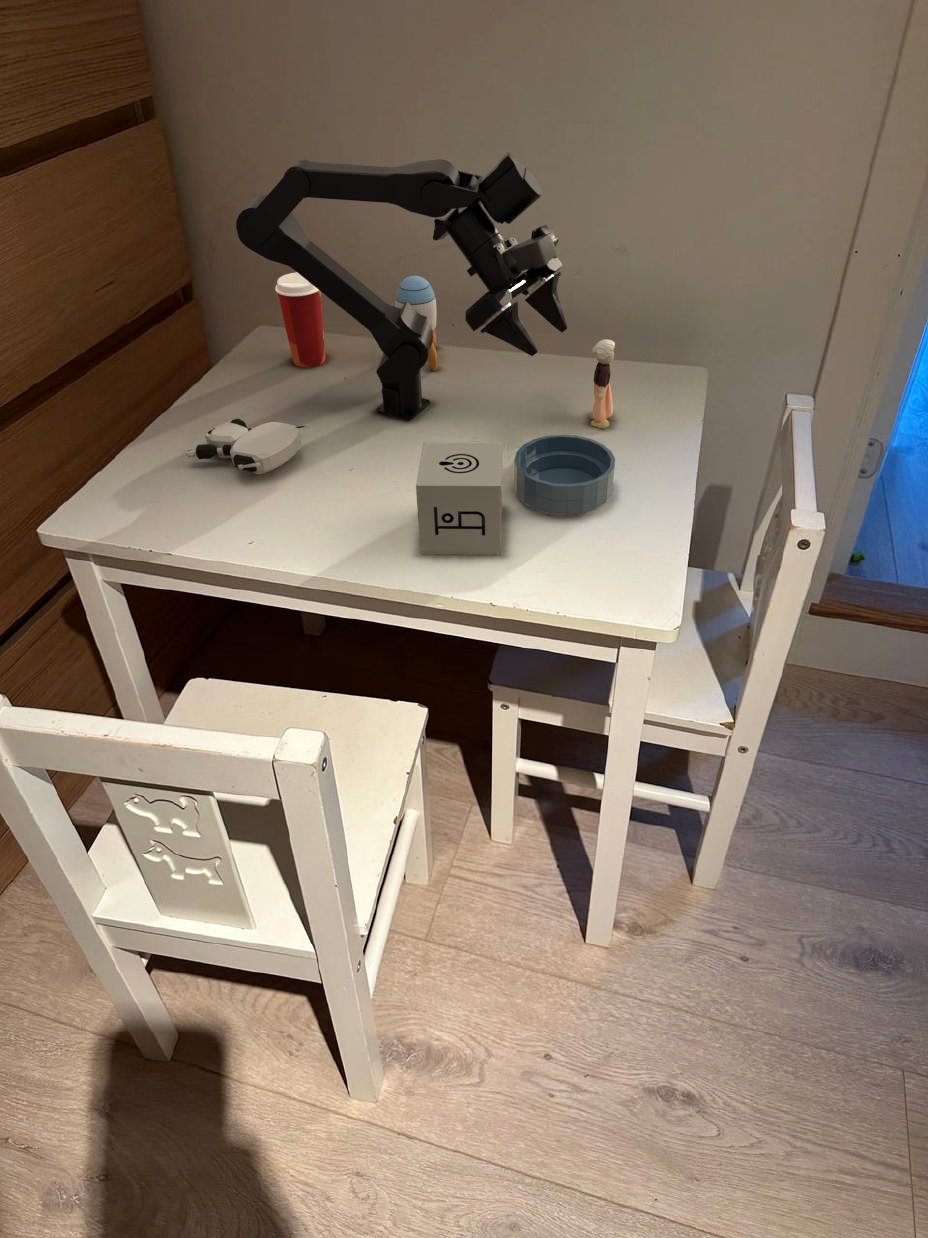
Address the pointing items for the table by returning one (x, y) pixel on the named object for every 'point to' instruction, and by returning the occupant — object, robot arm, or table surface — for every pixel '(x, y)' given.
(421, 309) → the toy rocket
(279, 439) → the robot toy
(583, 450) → the blue pet bowl
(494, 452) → the icon cube
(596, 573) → the table surface
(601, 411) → the grandmother figurine
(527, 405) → the table surface
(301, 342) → the paper cup
